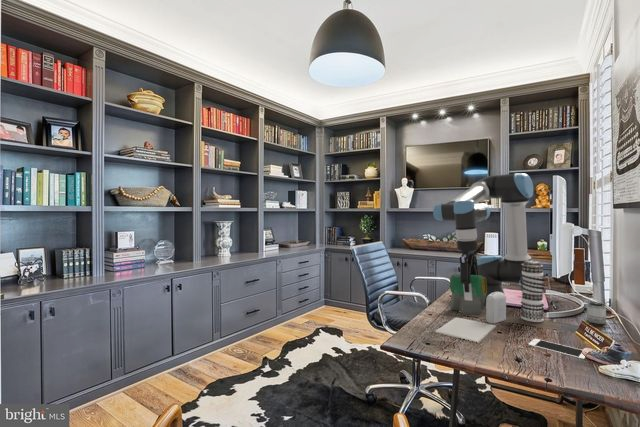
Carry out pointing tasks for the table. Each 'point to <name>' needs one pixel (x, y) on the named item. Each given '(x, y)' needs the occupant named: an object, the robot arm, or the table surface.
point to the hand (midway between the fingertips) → (471, 296)
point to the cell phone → (557, 348)
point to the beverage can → (476, 284)
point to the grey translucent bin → (467, 304)
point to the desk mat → (466, 329)
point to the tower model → (532, 291)
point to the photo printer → (496, 307)
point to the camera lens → (596, 312)
